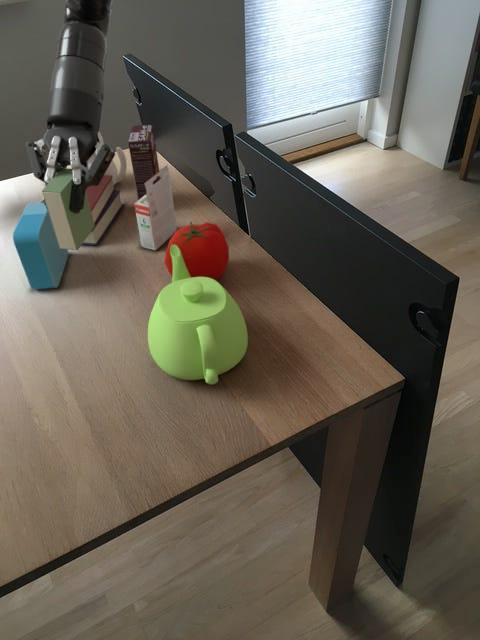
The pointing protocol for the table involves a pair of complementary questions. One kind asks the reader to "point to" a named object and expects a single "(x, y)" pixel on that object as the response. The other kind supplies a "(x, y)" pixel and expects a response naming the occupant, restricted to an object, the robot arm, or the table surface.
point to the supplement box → (143, 156)
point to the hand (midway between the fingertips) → (63, 210)
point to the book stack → (102, 208)
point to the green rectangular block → (67, 212)
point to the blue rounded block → (39, 247)
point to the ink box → (156, 212)
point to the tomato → (200, 250)
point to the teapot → (195, 326)
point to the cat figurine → (113, 164)
